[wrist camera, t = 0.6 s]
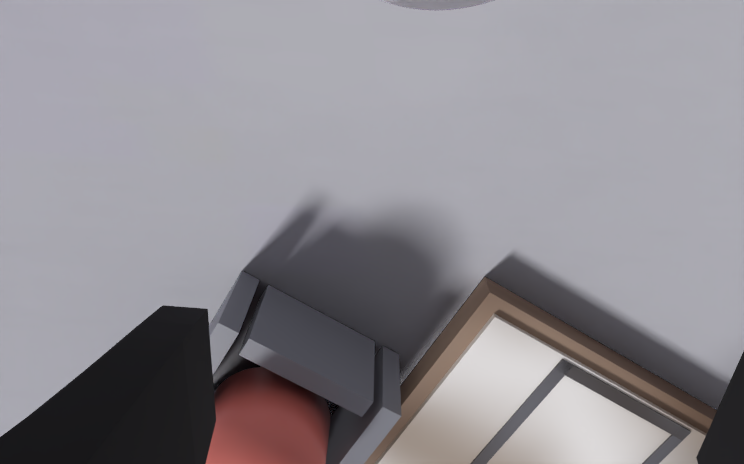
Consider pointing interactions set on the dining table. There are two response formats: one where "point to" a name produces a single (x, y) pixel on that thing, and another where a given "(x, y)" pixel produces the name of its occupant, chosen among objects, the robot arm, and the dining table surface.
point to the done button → (268, 421)
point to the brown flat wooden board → (536, 396)
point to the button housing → (316, 364)
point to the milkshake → (436, 4)
